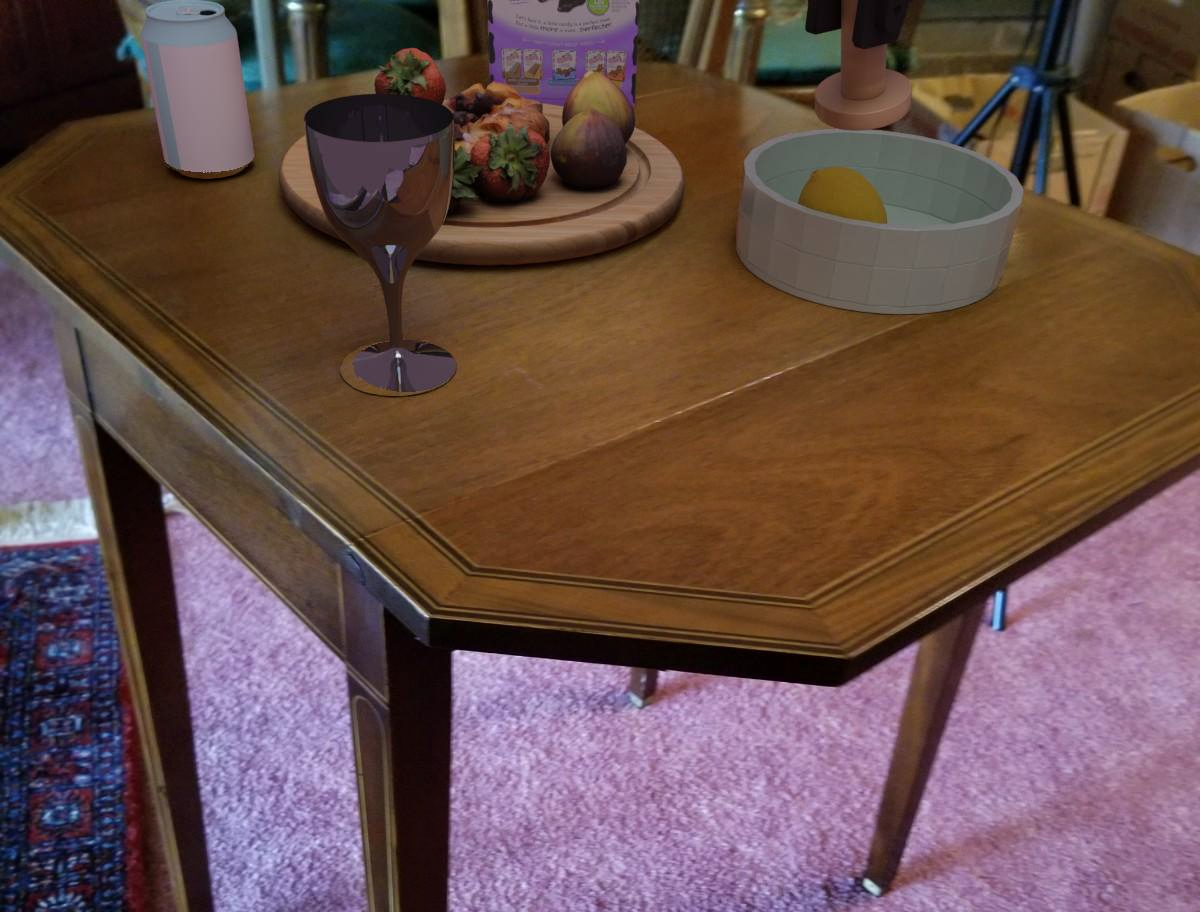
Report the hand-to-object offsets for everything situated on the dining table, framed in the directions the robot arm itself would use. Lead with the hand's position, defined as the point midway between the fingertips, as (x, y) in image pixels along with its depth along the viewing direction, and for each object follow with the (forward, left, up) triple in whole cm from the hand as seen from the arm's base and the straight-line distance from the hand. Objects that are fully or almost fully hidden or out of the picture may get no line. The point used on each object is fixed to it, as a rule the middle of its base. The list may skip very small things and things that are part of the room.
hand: (851, 33), depth 63 cm
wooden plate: (+35, -3, -20) cm, 41 cm away
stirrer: (0, -2, -4) cm, 5 cm away
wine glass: (+15, +19, -20) cm, 32 cm away
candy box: (+49, -23, -20) cm, 58 cm away
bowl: (+8, -18, -20) cm, 28 cm away
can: (+52, +12, -20) cm, 57 cm away
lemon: (+5, -14, -18) cm, 24 cm away
